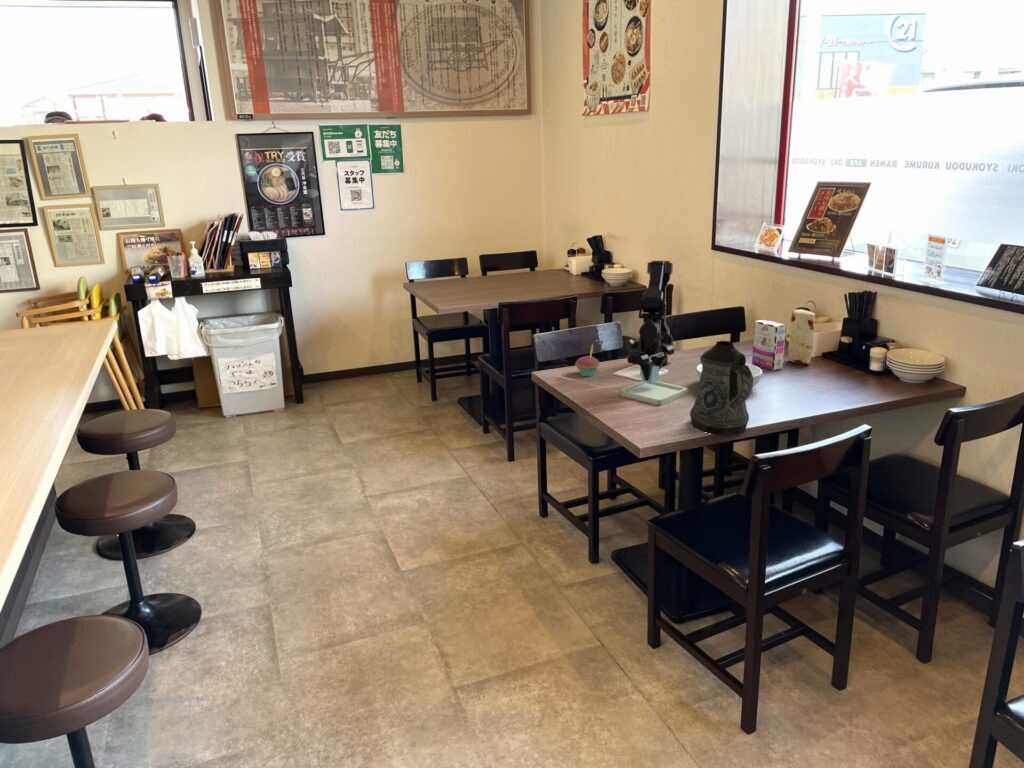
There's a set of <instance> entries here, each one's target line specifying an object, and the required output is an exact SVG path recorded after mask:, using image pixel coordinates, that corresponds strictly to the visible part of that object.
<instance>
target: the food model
mask: <svg viewBox="0 0 1024 768" xmlns="http://www.w3.org/2000/svg"><path fill="white" fill-rule="evenodd" d="M790 319H791V320H790V326H789V336H788V347H787V348H788V351H787V352H788V353H787V354H788V355H787V357H788V360H789V361H790V362H791V363H793V364H794V363H795V364H797V365H802V366H805V365H809V364H810V362H811V359H812V355H813V349H814V344H815V331H816V329H815V328H816V314H815V312H812V311H809V310H805V309H802V308H801V309H799V308H798V309H794V310H792V312H791V318H790Z"/></svg>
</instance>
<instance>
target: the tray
mask: <svg viewBox="0 0 1024 768" xmlns="http://www.w3.org/2000/svg"><path fill="white" fill-rule="evenodd" d="M618 391H619V393H618V394H619V395H618V396H620V395H621V396H620V397H624V396H625V398H628V397H629V399H632V400H635V399H636V400H637V401H639V400H640V402H643V403H644V402H645V403H647V402H648V403H647V404H652V405H655V406H659V407H660V406H663V405H666V404H667V403H670V402H671V401H674V400H676V399H678V398H681V397H683V396H686V395H687V394H689V387H684V386H681V385H678V384H677V385H676V384H672V383H668V382H667V383H666V382H662V381H656V382H654V383H649V382H644V381H638V382H637V383H634V384H631V385H629V386H626V387H624V388H622V389H619V390H618ZM636 400H635V401H636Z"/></svg>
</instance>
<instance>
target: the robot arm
mask: <svg viewBox="0 0 1024 768" xmlns="http://www.w3.org/2000/svg"><path fill="white" fill-rule="evenodd" d="M646 266H647V267H646V269H647V270H646V273H647V274H648V275H649V281H648V286H647V287H648V288H647V289H646V290H645V291H643V293H642V298H640V302H639V309H638V319H642V323H641V326H640V328H639V330H638V333H639V339H637V340H634V339H629V340H628V339H627V340H626V341H625V345H624V346H625V350H627V351H629V354H628V355H627V360H626V361H627V363H630V364H633V365H640V367H641V369H642V372H643V375H644V378H645V380H647V381H648V380H649V377H650V374H651V370H652V367H653V365H657V366H659V371H660V369H662V368H663V367H666V366H668V365H671V364H672V363H671V362H669V358H668V357H669V356H671V355H674V354H675V347H674V339H673V336H672V334H670V332H671V331H670V327H669V325H668V324H667V322H666V315H667V314H666V311H667V285H668V283H670V280H671V275H673V272H674V270H673V269H674V263H672V262H671V261H670V260H651V261H650V262H649V261H648V262H647V265H646ZM634 351H635V352H634ZM651 361H652V362H651Z"/></svg>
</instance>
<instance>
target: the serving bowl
mask: <svg viewBox="0 0 1024 768" xmlns="http://www.w3.org/2000/svg"><path fill="white" fill-rule="evenodd" d="M745 365H747V366H748V367H749V369H750V371H751V373H752V376H753V387H752V388H754V387H756V386H757V384H758V383H759V382H760V381H761V378H762V374H763V370H762V369H761V368H760V366H757V365H754V364H752V363H747V362H746V363H745ZM701 372H702V364H701V363H700V364H698V365H697V366H696V374H697V377H698V381H700V377H701Z"/></svg>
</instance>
